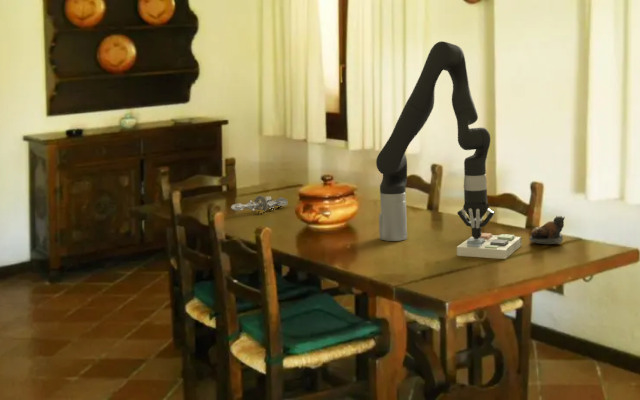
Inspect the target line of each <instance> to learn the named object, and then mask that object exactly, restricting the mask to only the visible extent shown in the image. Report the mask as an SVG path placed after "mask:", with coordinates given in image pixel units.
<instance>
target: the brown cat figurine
mask: <svg viewBox="0 0 640 400" xmlns="http://www.w3.org/2000/svg"><path fill="white" fill-rule="evenodd" d="M564 220H565V216H562V215H556V216H555V218H554V219H553V220H550V221H547V222H545V224H543V225H541V226H536V227H534V228H533V229H532V230H531V232H530V237H529V241H530V242H532V243H535V244H540V245H560V244H562V243H563V240H564V237H563V234H562V233H561V232H562V231H563V229H564V226H565V225H564V224H565V221H564Z"/></svg>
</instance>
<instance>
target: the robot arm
mask: <svg viewBox="0 0 640 400" xmlns="http://www.w3.org/2000/svg"><path fill="white" fill-rule="evenodd" d="M466 63H467V61H466V58H465V54H464V51H463V49H462V48H461V47H460V46H458V45H457V44H453V43H450V42H447V41H438V42H436V43H435V44H433V46H432V47H431V48H430V50H429V53H428V55H427V57H426V60H425V62H424V66H423V68H422V69H421V72H420V75H419V76H418V80H417V81H416V83H415V86H414V88H413V90H412V91H411V93H410V96H409V98H408V99H407V101H406V103H405V104H404V107H403V109H402V111H401V113H400V115H399V117H398V119H397V122H396V123H395V125H394V128H393V130H392V133H391V135H390V136H389V138H388V139H387V142H386V143H385V144H384V145H383V147H382V148H381V150H380V151H379V153H378V155H377V157H376V160H375V164H376V169H377V171H378V172H379V173H380V174H382V180H381V183H380V184H379V193H380V195H379V198H380V213H378V226H379V227H378V228H379V229H378V230H379V240H381V241H382V240H383V241H387V242H398V241H405V240H407V239H408V226H407V225H408V223H407V221H408V220H407V195H406V193H407V192H406V189H407V184H408V183H407V182H408V159H407V155H406V151H407V149H408V147H409V145H410V144H411V142H412V141H413V140H414V138H415V137H416V136H417V135H418V133H420V132H421V130H422V129H423V128H424V126H425V124H426V123H427V121H428V119H429V117H430V115H431V114H432V111H433V109H434V106H435V88H436V85H437V81H438V79H439V77H440V75H441V74H442V72H443V71H446V72H447V73H448V74H449V77H450V79H451V83H452V93H451V105H452V108H453V111H454V115H455V119H456V122H457V123H456V124H457V125H456V126H457V142H458V145H459V147H460V148H461V149H462V150H465V151H472V150H474V153H473V155H470V156H467V157H466V158H465V159H464V163H463V166H464V167H463V171H464V177H463V193H464V194H463V195H464V196H463V198H464V199H463V200H464V204H463V206H462V207H463V208H462V209H459V210H458V211H457V213H456V214H457V215H458V216H459V218H460V219H461V220H462V221H463V223H464V225H465V226H466V227H469V228H471V237H474V239H479V238H480V237H481V233H482V228H483V227H485V226H487V225H488V224H489V222H490V221H491V219H492V218H493V217H494V216H495V214H496V212H495V211H493V210H491V208H490V206H489V204H488V185H487V183H488V181H487V172H486V171H487V167H486V163H487V162H486V161H487V158H488V153H489V149H490V146H491V134H490V131H488V129H487V128H486V127H481V126H480V127H473V128H470V127H469V126H470V125H473V124H475V123H476V122H477V121H478V118H479V115H478V112H477V109H476V105H475V103H474V99H473V97H472V93H471V89H470V82H469V76H468V72H467V64H466ZM485 215H486V218H485V219H484V220H483V217H484V216H485Z"/></svg>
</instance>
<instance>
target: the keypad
mask: <svg viewBox="0 0 640 400" xmlns="http://www.w3.org/2000/svg"><path fill="white" fill-rule="evenodd" d="M499 235H500V234H499ZM499 235H497V234H495V235H494V234H492V237H491V238H490V239H489V240H487V239H485V243H483V244H482V245H480V244H467V241H468V240H469V239H470V238H474V237H472V236H471V237H469V238H467V239H466V240H465V241H463V242H462V243H460V244H458V246H456V256H458V257H470V258H471V257H472V258H486V259H498V260H500V259H501V260H506V259H508V258H509V257H510V255H512V254H513V253H515V252H516V250H518V249H520V247H521V246H522V236H515V235H514V239H513V240H512V241H508V244H507V245H506V246H495V245H490V242H491V241H493V240H494V239H497V237H498V236H499Z"/></svg>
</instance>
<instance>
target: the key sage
mask: <svg viewBox="0 0 640 400" xmlns="http://www.w3.org/2000/svg"><path fill="white" fill-rule="evenodd" d="M514 236H515V234H509V233H508V234H506V233H505V234H503V233H501V234H499V236H498V237H497V239H499V240H508V241H512V240H513V239H514Z"/></svg>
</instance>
